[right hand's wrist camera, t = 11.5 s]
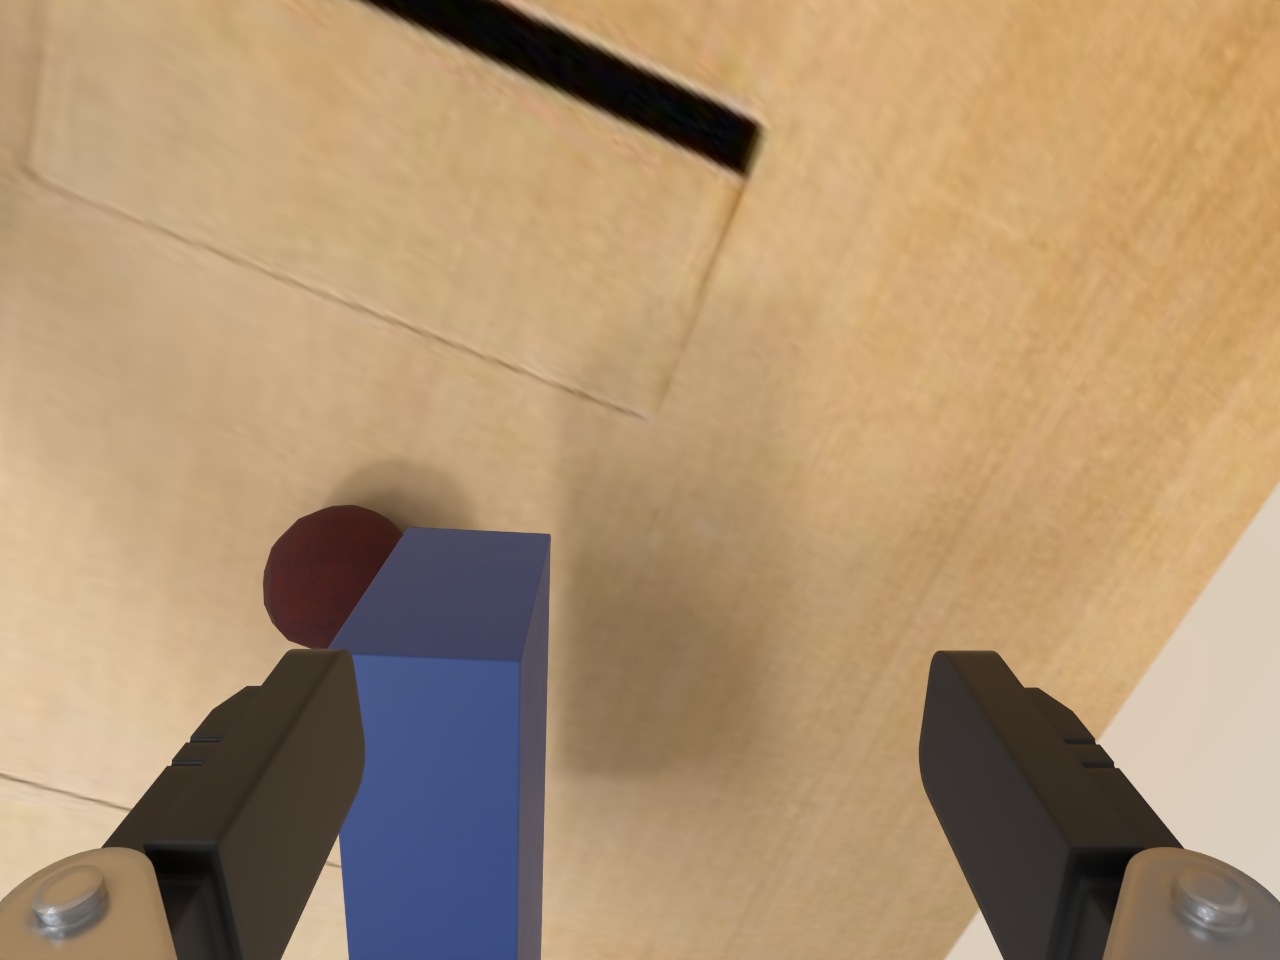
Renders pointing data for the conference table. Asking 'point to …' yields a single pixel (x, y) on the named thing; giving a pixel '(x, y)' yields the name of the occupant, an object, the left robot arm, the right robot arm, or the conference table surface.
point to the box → (450, 749)
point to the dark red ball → (325, 571)
